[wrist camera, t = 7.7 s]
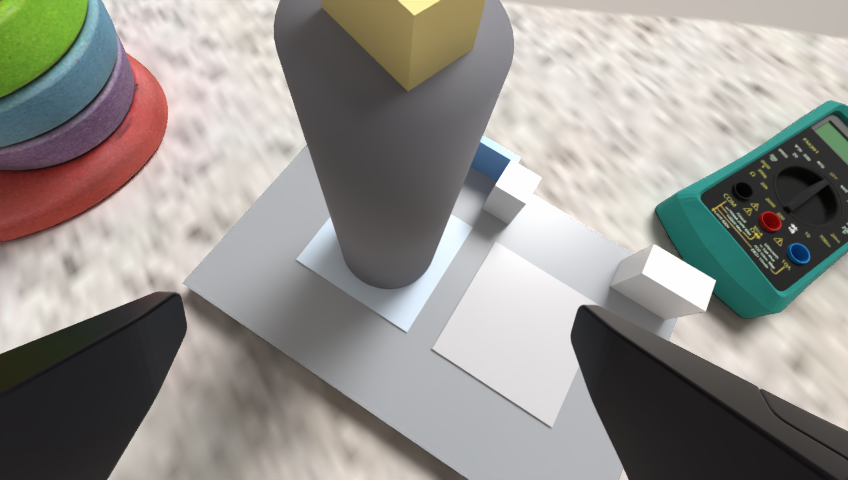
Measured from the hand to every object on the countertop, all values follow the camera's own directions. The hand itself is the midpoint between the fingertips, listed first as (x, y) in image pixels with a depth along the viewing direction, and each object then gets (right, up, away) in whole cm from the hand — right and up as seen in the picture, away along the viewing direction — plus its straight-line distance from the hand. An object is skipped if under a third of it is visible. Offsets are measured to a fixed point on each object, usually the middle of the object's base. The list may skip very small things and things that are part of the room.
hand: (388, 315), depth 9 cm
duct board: (+2, -1, +10) cm, 10 cm away
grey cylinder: (-1, +2, +9) cm, 10 cm away
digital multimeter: (+21, +3, +15) cm, 26 cm away
